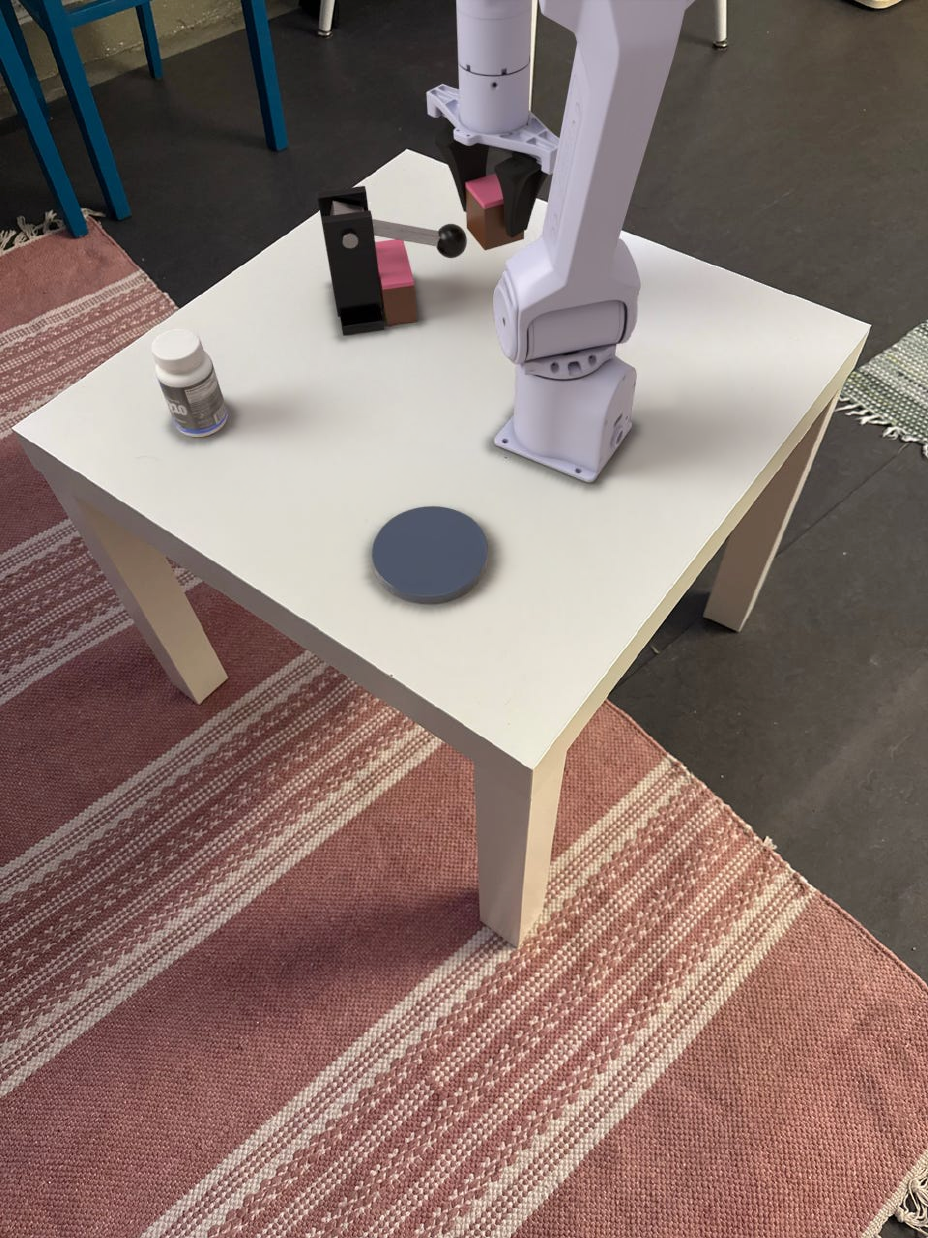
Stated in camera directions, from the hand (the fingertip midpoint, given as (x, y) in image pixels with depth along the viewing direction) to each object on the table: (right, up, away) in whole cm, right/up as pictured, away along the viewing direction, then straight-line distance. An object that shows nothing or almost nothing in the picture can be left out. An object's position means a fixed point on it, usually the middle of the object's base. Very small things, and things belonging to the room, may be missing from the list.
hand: (494, 219), depth 83 cm
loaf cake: (-9, -5, +7) cm, 13 cm away
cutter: (-9, -2, +2) cm, 9 cm away
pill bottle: (-26, -19, -2) cm, 32 cm away
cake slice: (0, -1, +1) cm, 1 cm away
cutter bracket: (-13, -6, +7) cm, 16 cm away
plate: (-5, -32, -12) cm, 34 cm away
